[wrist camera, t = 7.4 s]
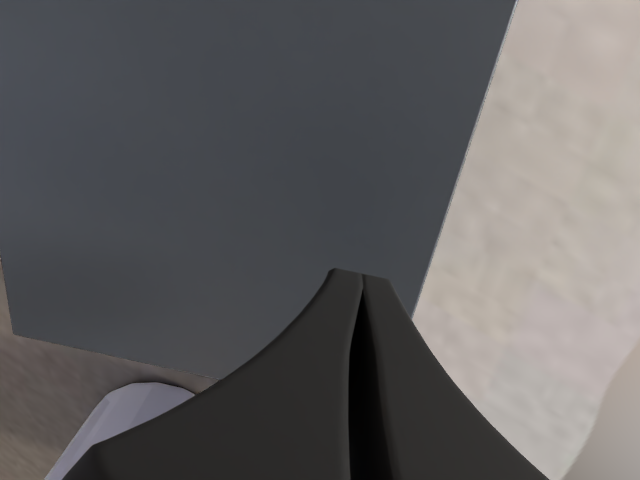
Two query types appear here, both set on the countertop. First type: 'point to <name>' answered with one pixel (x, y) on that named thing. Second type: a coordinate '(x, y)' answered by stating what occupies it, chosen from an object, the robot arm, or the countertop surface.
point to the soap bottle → (119, 418)
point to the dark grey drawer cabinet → (226, 161)
